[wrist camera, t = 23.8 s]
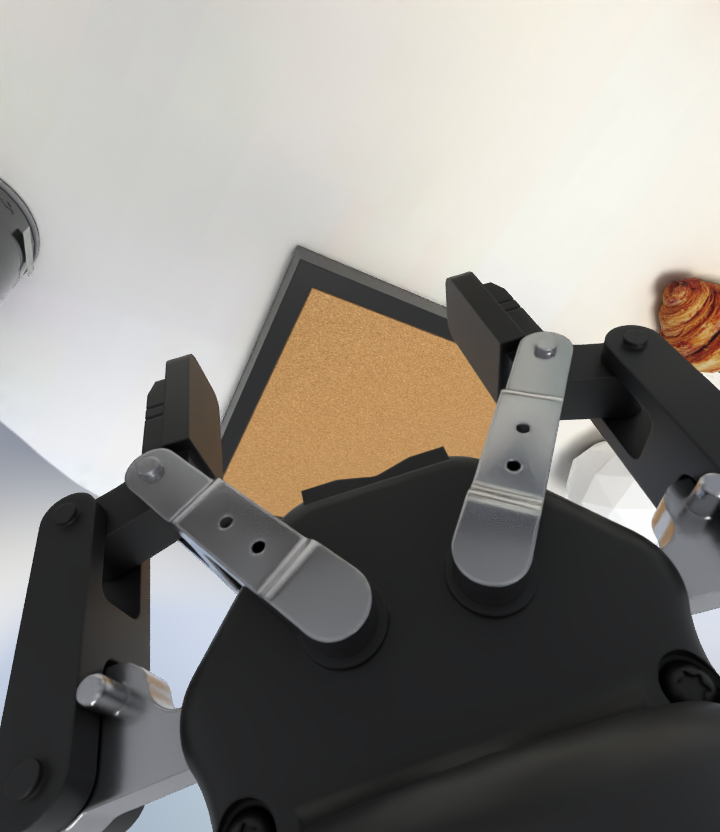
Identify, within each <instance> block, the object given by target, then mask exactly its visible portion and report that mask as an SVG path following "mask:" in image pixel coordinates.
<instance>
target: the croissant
mask: <svg viewBox="0 0 720 832" xmlns="http://www.w3.org/2000/svg"><path fill="white" fill-rule="evenodd" d="M662 295H663V301H664V302H663V304H662V306H661V308H660V311H659V321H660V325H661V327H662V328H661V336H662V337H663V338H664V339H665V340H666V341H667V342H668V343H669V344H670V345H671V346H672V347H674V348H675V349H676V350H677V351H678V352H679V353H680V354H681V355H682V356H683V357H684V358H685V359H686V360H687V361H689V362H690V363H691V364H692V365H693V366H694V367H695V368H696V369H697V370H698V371H700V372H710V373H714V372H719V373H720V285H718V284H714V283H709V282H703V281H702V280H699V279H696V278H691V279H683V280H678V281H673V282H671V283H670V284H669V285H668V286H667V288H666V289H665V290H664V293H663V294H662Z"/></svg>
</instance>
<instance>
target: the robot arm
mask: <svg viewBox="0 0 720 832" xmlns="http://www.w3.org/2000/svg"><path fill="white" fill-rule="evenodd" d="M38 251H39V235H38V230H37V227H36V224H35V222H34V219H33V217H32V215H31V213H30V212H29V210H28V208H27V207H26V205H25V204H24V203H23V201H22V200H21V199H20V198H19V197H18V196H17V194H16V193H15V192H14V191H13V190H12V189H11V188H10V187H9V186H7V185H6V184H5V183H4V182H3V181H1V180H0V303H1V302H2V301H3V299H4V298H5V297H6V295H7V294H8V293H9V292H10V290H11V289H12V288H13V287H14V285H15V284H16V283H17V281H18V280H19V279H20V277H21V276H22V275H23V274H25V273H26V272H27V271H28V276H29V275H30V274H31V272H32V271H33V270H34V264H33V263H34V261H35V260H36V257H37V254H38ZM446 303H447V321H448V327H449V330H450V333H451V336H452V338H453V339H454V341H455V342H456V344H457V345H458V347H459V348H460V350H461V351H462V353H463V354H464V356H465V357H466V359H467V360H468V362H469V363H470V365H471V366H472V368H473V369H474V371H475V372H476V374H477V375H478V377H479V378H480V380H481V382H482V383H483V385H484V386H485V388H486V389H487V391H488V392H489V394H490V395H491V397H492V398H493V400H494V401H495V403H496V404H497V405H496V408H495V411H494V415H493V418H492V421H491V424H490V428H489V431H488V434H487V437H486V441H485V444H484V447H483V450H482V454H481V457H480V459H478V458H473V457H467V456H448V454H447V452H446V450H445V448H444V446H442V447H439V448H436V449H433V450H430V451H426V452H423V453H420V454H417V455H414V456H410V457H408V458H406V459H404V460H403V461H401V462H399V463H398V464H396V465H394V466H392V467H391V468H389V469H387V470H385V471H384V472H382V473H380V474H378V475H376V476H372V477H361V478H351V479H340V480H334V481H331V482H328V483H325V484H322V485H318V486H315V487H312V488H309V489H306V490H302V491H301V493H302V498H303V502H302V503H301V504H299V505H297V506H296V507H295V508H293V509H292V510H291V511H289V512H288V513H287V514H286V515H285V516H284V517H283V518H282V519H281V520H280V519H278V518H277V517H275V516H274V515H272V514H271V513H270V512H268V511H267V510H265V509H264V508H262V507H261V506H260V505H258V504H257V503H255V502H254V501H252V500H251V499H250V498H248V497H247V496H245V495H244V494H242V493H241V492H239V491H238V490H237V489H235V488H234V487H232V486H231V485H229V484H228V483H227V482H225V481H224V480H223V465H222V448H221V431H220V414H219V405H218V401H217V398H216V395H215V393H214V391H213V389H212V387H211V385H210V383H209V381H208V380H207V378H206V376H205V374H204V372H203V371H202V369H201V367H200V365H199V364H198V362H197V360H196V358H195V357H194V356H193V355H192V354H189V355H185V356H182V357H179V358H175V359H172V360H169V361H167V362H166V373H165V379H164V380H160V381H157V382H155V384H154V385H153V387H152V389H151V390H150V392H149V394H148V396H147V406H146V408H147V410H146V416H145V419H146V421H145V426H144V436H143V446H142V455H141V456H139V457H138V458H137V459H136V460H134V461H133V463H132V464H131V465H130V466H129V468H128V469H127V472H126V474H125V482H124V483H123V484H121V485H120V486H118V487H116V488H115V489H113V490H111V491H110V492H108V493H106V494H104V495H103V496H101V497H99V498H97V499H96V500H95V499H94V498H93V497H92V496H91V495H90V494H88V493H74V494H71V495H69V496H67V497H64V498H62V499H61V500H60V501H58V502H56V503H55V504H54V505H53V506H52V507H51V508H50V509H49V510H48V511H47V512H46V514H45V515H44V517H43V519H42V521H41V524H40V527H39V532H38V537H37V542H36V547H35V552H34V557H33V563H32V568H31V573H30V578H29V583H28V588H27V593H26V598H25V604H24V609H23V614H22V619H21V624H20V629H19V634H18V639H17V644H16V650H15V655H14V660H13V665H12V670H11V675H10V680H9V686H8V690H7V695H6V700H5V706H4V711H3V716H2V721H1V726H0V832H125V831H126V830H128V829H129V828H130V827H131V826H132V825H133V824H134V822H135V821H136V820H137V818H138V817H139V815H140V814H141V812H142V810H143V808H144V805H145V804H148V803H150V802H152V801H155V800H157V799H159V798H162V797H164V796H166V795H169V794H171V793H174V792H176V791H178V790H181V789H183V788H186V787H188V786H190V785H193V784H195V783H198V785H199V787H200V789H201V791H202V793H203V796H204V799H205V801H206V805H207V808H208V811H209V815H210V819H211V824H212V828H213V832H720V676H719V675H718V674H717V672H716V671H715V669H714V668H713V667H712V665H711V664H710V662H709V660H708V658H707V657H706V655H705V652H704V650H703V648H702V646H701V644H700V641H699V639H698V636H697V633H696V630H695V627H694V623H693V620H692V616H691V615H693V614H697V613H701V612H705V611H709V610H713V609H716V608H720V390H718V389H717V388H716V387H715V386H714V385H713V384H712V383H711V382H710V381H709V380H708V379H707V378H706V377H705V376H703V375H702V374H701V373H700V372H699V371H698V370H697V369H696V368H695V367H694V366H693V365H692V364H691V363H690V362H689V361H687V360H686V359H685V358H684V357H683V356H682V355H681V354H680V353H679V352H678V351H677V350H676V349H675V348H674V347H672V346H671V345H670V344H669V343H668V342H667V341H666V340H665V339H664V338H663V337H662V336H661V335H660V334H658V333H657V332H655V331H654V330H651V329H649V328H646V327H642V326H636V325H626V326H620V327H617V328H614V329H612V330H611V331H609V332H608V334H607V335H606V337H605V341H604V343H601V344H586V345H572V343H571V342H570V341H569V339H567V338H566V337H564V336H563V335H560V334H557V333H554V332H544V331H543V330H542V329H541V328H540V327H539V326H538V325H537V324H536V323H535V322H534V320H533V319H532V318H531V317H530V316H529V315H528V314H527V313H526V312H525V311H524V309H523V308H520V305H519V304H518V303H517V302H516V301H515V300H513V297H512V296H511V295H510V294H509V293H508V292H507V291H506V290H505V289H504V288H502V287H500V286H498V285H495V284H493V283H491V282H490V283H487V284H482V283H481V282H480V281H479V280H478V278H477V277H476V276H475V275H474V274H473V273H472V272H466V273H463V274H460V275H456V276H453V277H450V278H447V279H446ZM575 419H590V420H591V421H592V422H593V424H594V425H595V426H596V428H597V429H598V430H599V432H600V433H601V435H602V436H603V437H604V439H605V440H606V441H607V443H608V444H609V445H610V447H611V448H612V449H613V451H614V452H615V453H616V455H617V456H618V458H619V459H620V460H621V462H622V463H623V464H624V466H625V467H626V468H627V470H628V471H629V472H630V474H631V475H632V476H633V478H634V479H635V481H636V482H637V483H638V485H639V486H640V487H641V489H642V490H643V491H644V493H645V494H646V495H647V497H648V498H649V499H650V501H651V502H652V504H653V505H654V506H655V508H656V511H655V513H654V515H653V517H652V522H651V525H652V530H653V533H654V535H655V536H656V538H657V540H658V543H659V546H660V548H659V547H657V546H656V545H655V544H654V543H653V542H651V541H650V540H648V539H647V538H646V537H644V536H642V535H640V534H639V533H637V532H635V531H633V530H631V529H629V528H627V527H624V526H622V525H620V524H618V523H616V522H614V521H612V520H610V519H608V518H606V517H603V516H601V515H599V514H597V513H595V512H593V511H591V510H589V509H587V508H585V507H582V506H580V505H578V504H576V503H574V502H572V501H570V500H568V499H566V498H564V497H562V496H559V495H557V494H555V493H553V492H551V491H549V490H547V489H546V487H547V482H548V477H549V472H550V467H551V462H552V456H553V451H554V446H555V441H556V436H557V431H558V426H559V421H560V420H575ZM176 541H178V542H180V543H181V544H182V545H183V546H184V547H185V548H186V549H188V550H189V551H190V552H191V553H192V554H193V555H194V556H196V557H197V558H198V559H199V560H200V561H202V563H203V564H205V565H206V566H207V567H208V568H209V569H210V570H211V571H213V572H214V573H215V574H216V575H217V576H218V577H219V578H220V579H221V580H222V581H224V583H225V584H226V585H227V586H228V587H229V588H230V589H232V590H233V591H234V592H235V593H236V594H237V596H236V598H235V600H234V602H233V604H232V606H231V607H230V609H229V611H228V613H227V615H226V617H225V618H224V620H223V622H222V624H221V626H220V628H219V629H218V631H217V633H216V635H215V637H214V639H213V641H212V642H211V644H210V646H209V648H208V650H207V652H206V654H205V655H204V657H203V659H202V661H201V663H200V665H199V666H198V668H197V670H196V672H195V674H194V676H193V677H192V680H191V681H190V684H189V686H188V688H187V691H186V694H185V697H184V701H183V704H182V707H181V708H177V709H175V707H174V705H173V702H172V696H171V691H170V688H169V686H168V684H167V683H166V682H165V681H164V680H163V679H161V678H160V677H158V676H156V675H155V674H152V673H151V672H150V558H151V557H152V556H154V555H156V554H157V553H159V552H160V551H162V550H163V549H165V548H167V547H168V546H170V545H171V544H173V543H175V542H176Z"/></svg>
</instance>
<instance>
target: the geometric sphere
mask: <svg viewBox="0 0 720 832" xmlns="http://www.w3.org/2000/svg"><path fill="white" fill-rule="evenodd" d="M566 490H567V495H568V500H570V501H572V502H574V503H576V504H578V505H580V506H582V507H585V508H587V509H589V510H591V511H593V512H595V513H597V514H599V515H601V516H603V517H606V518H608V519H610V520H612V521H614V522H616V523H618V524H620V525H622V526H624V527H627V528H629V529H631V530H633V531H635V532H637V533H639V534H640V535H642V536H644V537H646V538H647V539H648V540H650V541H651V542H653V543H654V544H655V543H657V542H658V540H657V538H656V536H655V535H654V533H653V530H652V525H651V522H652V517H653V515H654V513H655V511H656V508H655V506H654V505H653V504H652V502H651V501H650V499H649V498H648V497H647V495H646V494H645V493H644V491H643V490H642V489H641V487H640V486H639V485H638V483H637V482H636V481H635V479H634V478H633V476H632V475H631V474H630V472H629V471H628V470H627V468H626V467H625V466H624V464H623V463H622V462H621V460H620V459H619V458H618V456H617V455H616V453H615V452H614V451H613V449H612V448H611V447H610V445H609V444H608V443H607V441H603V442H598V443H595V444H594V445H593V446H591V447H590V448H589V449H587V450H586V451H585V452H583V453H582V454H581V455H579V456H578V457H577V458H575V459H574V460H573V462H572V466H571V469H570V473H569V476H568V480H567V483H566Z"/></svg>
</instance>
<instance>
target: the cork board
mask: <svg viewBox="0 0 720 832" xmlns="http://www.w3.org/2000/svg"><path fill="white" fill-rule="evenodd" d="M496 405H497V404H496V403H495V401H494V400H493V398H492V397H491V395H490V394H489V392H488V391H487V389H486V388H485V386H484V385H483V383H482V382H481V380H480V378H479V377H478V375H477V374H476V372H475V371H474V369H473V368H472V366H471V365H470V363H469V362H468V360H467V359H466V357H465V356H464V354H463V353H462V351H461V350H460V348H459V347H458V345H457V344H456V342H455V341H454V339H453V338H452V336H451V333H450V330H449V327H448V321H447V308H446V307H443V306H441V305H439V304H436V303H434V302H432V301H429V300H427V299H424V298H422V297H420V296H417V295H415V294H412V293H410V292H408V291H405V290H403V289H401V288H398V287H396V286H393V285H391V284H389V283H386V282H384V281H382V280H379V279H377V278H374V277H372V276H370V275H367V274H365V273H362V272H360V271H358V270H355V269H353V268H351V267H348V266H346V265H343V264H341V263H339V262H336V261H334V260H332V259H329V258H327V257H324V256H322V255H320V254H317V253H315V252H312V251H310V250H308V249H305V248H303V247H301V246H297V249H296V251H295V253H294V256H293V258H292V260H291V263H290V265H289V267H288V270H287V272H286V274H285V277H284V279H283V281H282V284H281V286H280V288H279V291H278V293H277V295H276V298H275V300H274V302H273V305H272V307H271V309H270V312H269V314H268V316H267V319H266V321H265V323H264V326H263V328H262V330H261V333H260V335H259V337H258V340H257V342H256V345H255V347H254V349H253V352H252V354H251V356H250V359H249V361H248V363H247V366H246V368H245V370H244V373H243V375H242V377H241V380H240V382H239V384H238V387H237V389H236V391H235V394H234V396H233V398H232V401H231V403H230V405H229V408H228V410H227V412H226V415H225V417H224V419H223V422H222V424H221V426H220V431H221V448H222V465H223V480H224V481H225V482H227V483H228V484H229V485H231V486H232V487H234V488H235V489H237V490H238V491H239V492H241V493H242V494H244V495H245V496H247V497H248V498H250V499H251V500H252V501H254V502H255V503H257V504H258V505H260V506H261V507H262V508H264V509H265V510H267V511H268V512H270V513H271V514H272V515H274V516H275V517H277V518H278V519H280V520H281V519H282V518H283V517H284V516H285V515H286V514H287V513H288V512H289V511H291V510H292V509H293V508H295V507H296V506H297V505H299V504H301V503H302V502H303V498H302V493H301V491H302V490H306V489H309V488H312V487H315V486H318V485H322V484H325V483H328V482H331V481H334V480H340V479H351V478H361V477H372V476H376V475H378V474H380V473H382V472H384V471H385V470H387V469H389V468H391V467H392V466H394V465H396V464H398V463H399V462H401V461H403V460H404V459H406V458H408V457H410V456H414V455H417V454H420V453H423V452H426V451H430V450H433V449H436V448H439V447H442V446H444V448H445V450H446V452H447V454H448V456H467V457H473V458H478V459H480V457H481V454H482V450H483V447H484V444H485V441H486V437H487V434H488V431H489V428H490V424H491V421H492V418H493V415H494V411H495V408H496Z"/></svg>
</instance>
